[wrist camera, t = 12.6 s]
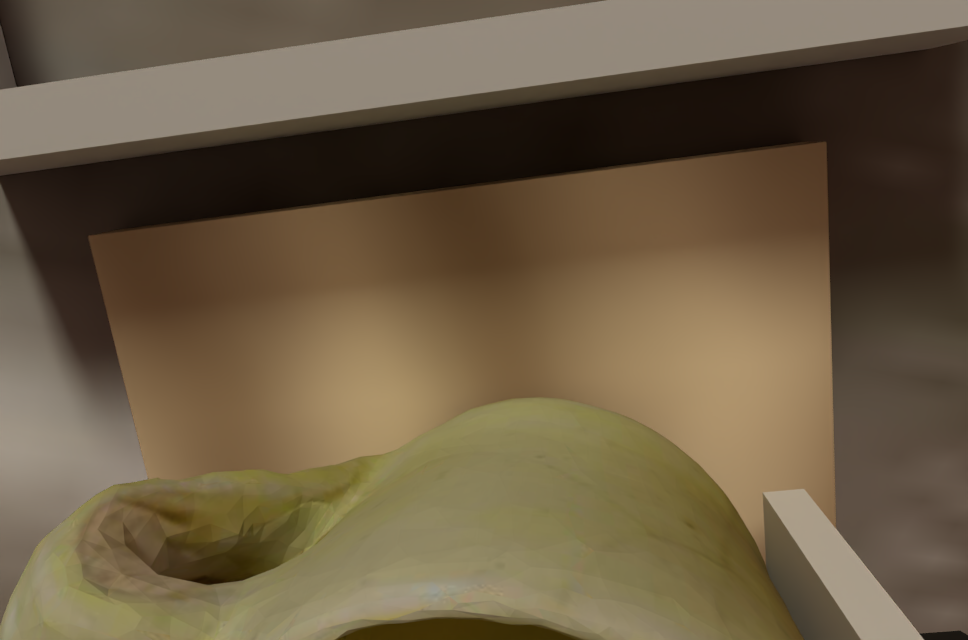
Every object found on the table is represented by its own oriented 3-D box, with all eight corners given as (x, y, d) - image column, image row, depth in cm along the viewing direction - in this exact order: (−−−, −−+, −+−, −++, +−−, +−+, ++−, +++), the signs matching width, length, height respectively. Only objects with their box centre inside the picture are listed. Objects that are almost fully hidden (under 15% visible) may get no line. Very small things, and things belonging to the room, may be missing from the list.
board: (250, 782, 20) (233, 821, 19) (118, 229, 17) (87, 236, 16) (822, 747, 19) (842, 787, 18) (803, 141, 15) (826, 141, 14)
